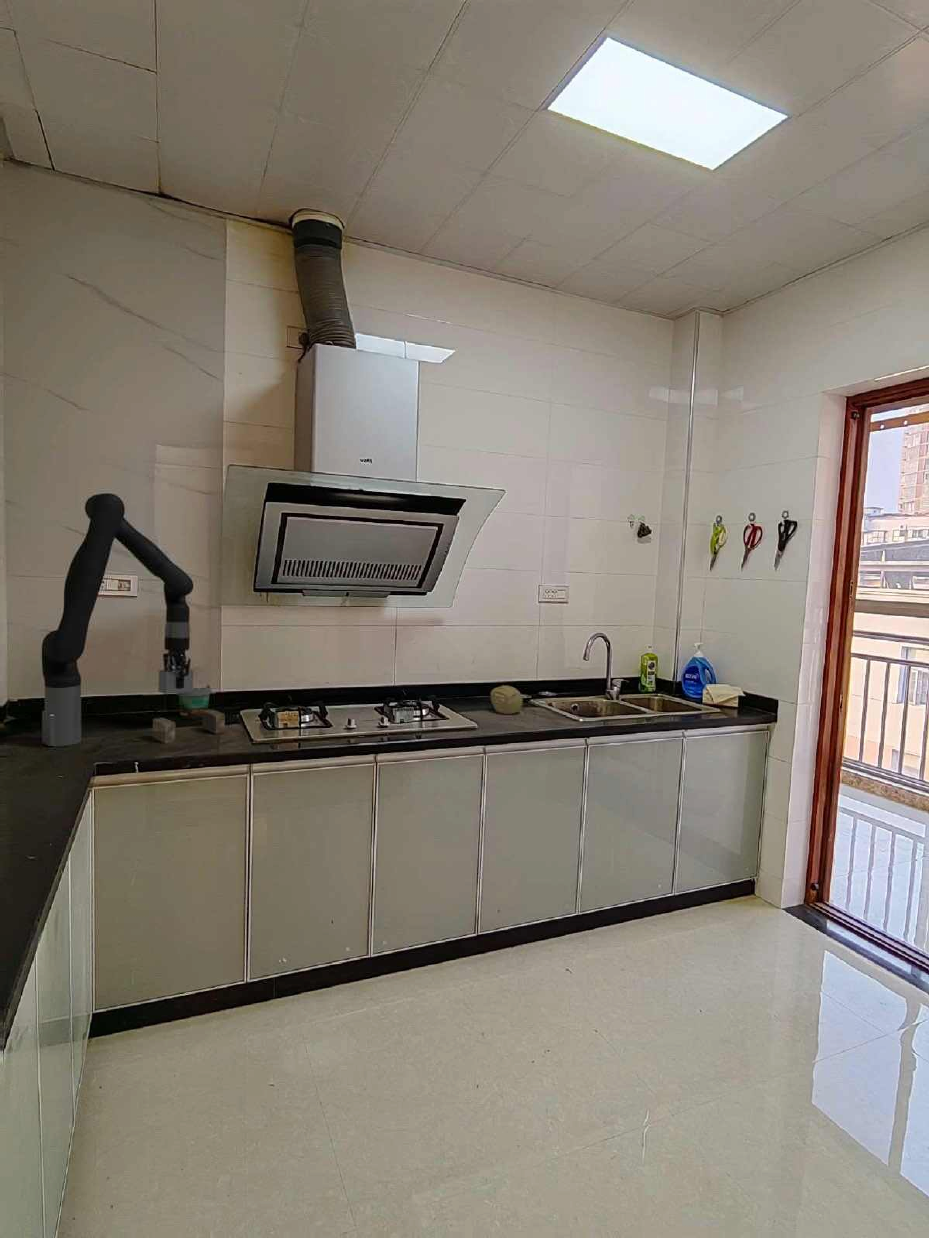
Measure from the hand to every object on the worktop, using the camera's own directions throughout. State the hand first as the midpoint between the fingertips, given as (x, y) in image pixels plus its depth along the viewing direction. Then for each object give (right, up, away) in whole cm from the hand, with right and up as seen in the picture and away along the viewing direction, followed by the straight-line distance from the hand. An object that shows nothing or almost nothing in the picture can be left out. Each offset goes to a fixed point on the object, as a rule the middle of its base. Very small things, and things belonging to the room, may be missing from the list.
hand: (175, 686), depth 227 cm
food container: (0, -12, +18) cm, 22 cm away
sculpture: (+111, -15, +47) cm, 121 cm away
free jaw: (+13, -14, -2) cm, 19 cm away
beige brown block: (+2, -15, -14) cm, 20 cm away
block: (0, -2, 0) cm, 2 cm away
